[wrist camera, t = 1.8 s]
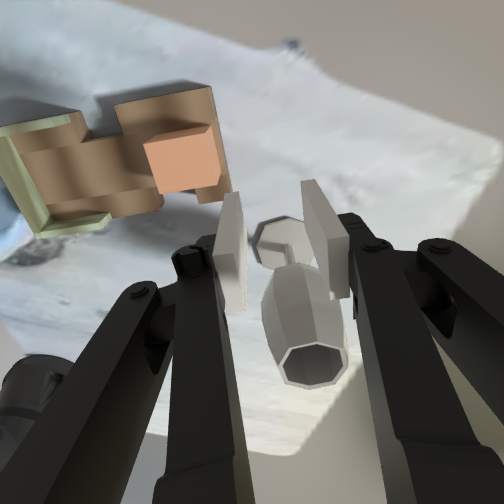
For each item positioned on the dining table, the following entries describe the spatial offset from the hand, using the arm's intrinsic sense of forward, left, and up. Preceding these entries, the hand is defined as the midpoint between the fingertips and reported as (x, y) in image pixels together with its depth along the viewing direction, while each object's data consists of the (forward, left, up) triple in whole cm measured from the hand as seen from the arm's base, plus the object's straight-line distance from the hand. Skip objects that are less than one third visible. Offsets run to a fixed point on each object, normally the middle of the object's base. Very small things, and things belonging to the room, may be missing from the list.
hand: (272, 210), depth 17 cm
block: (-8, 0, -20) cm, 21 cm away
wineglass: (+1, -15, -23) cm, 27 cm away
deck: (-16, 0, -23) cm, 28 cm away
